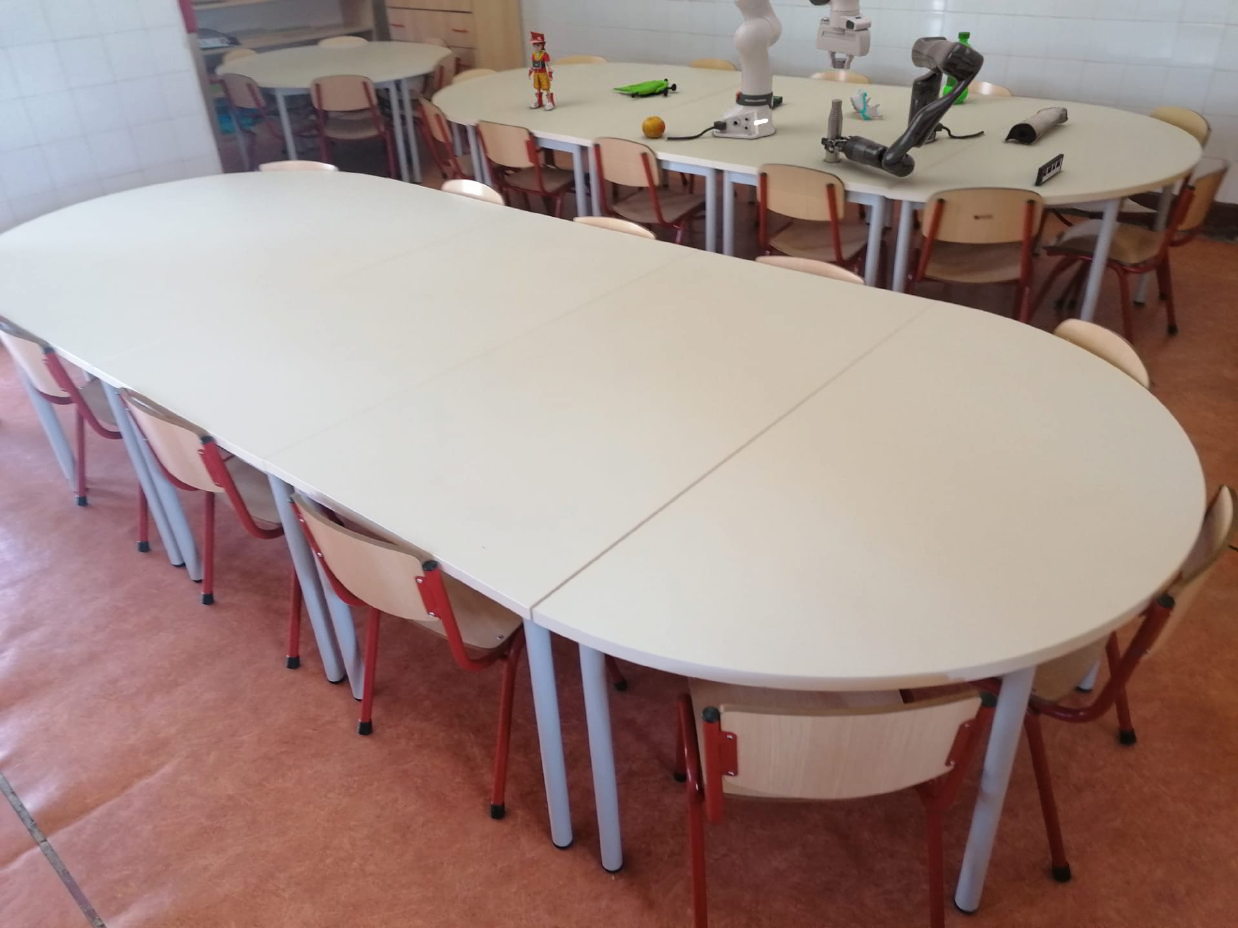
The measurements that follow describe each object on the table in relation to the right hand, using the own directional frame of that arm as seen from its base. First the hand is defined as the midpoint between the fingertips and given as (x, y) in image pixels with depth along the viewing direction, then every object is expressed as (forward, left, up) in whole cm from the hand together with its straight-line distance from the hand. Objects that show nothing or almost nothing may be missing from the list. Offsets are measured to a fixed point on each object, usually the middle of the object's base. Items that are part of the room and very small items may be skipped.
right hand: (828, 139), depth 299 cm
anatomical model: (-46, -35, -6) cm, 58 cm away
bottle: (0, +3, -6) cm, 7 cm away
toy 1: (+48, -131, -6) cm, 140 cm away
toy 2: (+1, -128, -6) cm, 128 cm away
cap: (0, +3, +25) cm, 25 cm away
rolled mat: (-75, +21, -6) cm, 78 cm away
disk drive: (-25, -71, -6) cm, 76 cm away
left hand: (0, +3, +23) cm, 23 cm away
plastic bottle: (-86, -29, -6) cm, 91 cm away
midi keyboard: (-39, +57, -6) cm, 70 cm away
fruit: (+33, -61, -6) cm, 69 cm away
